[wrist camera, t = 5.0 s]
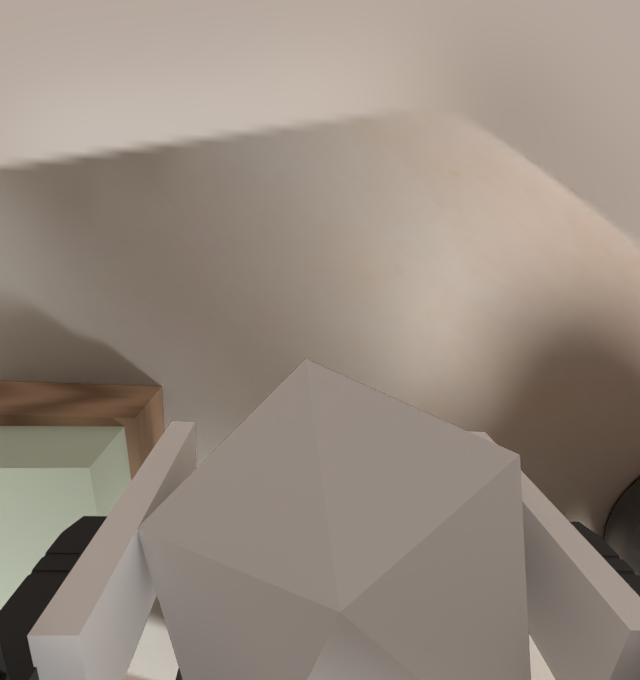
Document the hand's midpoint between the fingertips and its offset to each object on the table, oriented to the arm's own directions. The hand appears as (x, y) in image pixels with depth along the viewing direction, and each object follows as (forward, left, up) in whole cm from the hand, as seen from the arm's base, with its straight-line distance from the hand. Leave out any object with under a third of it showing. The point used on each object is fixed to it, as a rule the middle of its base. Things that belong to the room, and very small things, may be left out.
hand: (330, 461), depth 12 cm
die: (0, 0, -1) cm, 1 cm away
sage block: (+16, +10, -10) cm, 21 cm away
